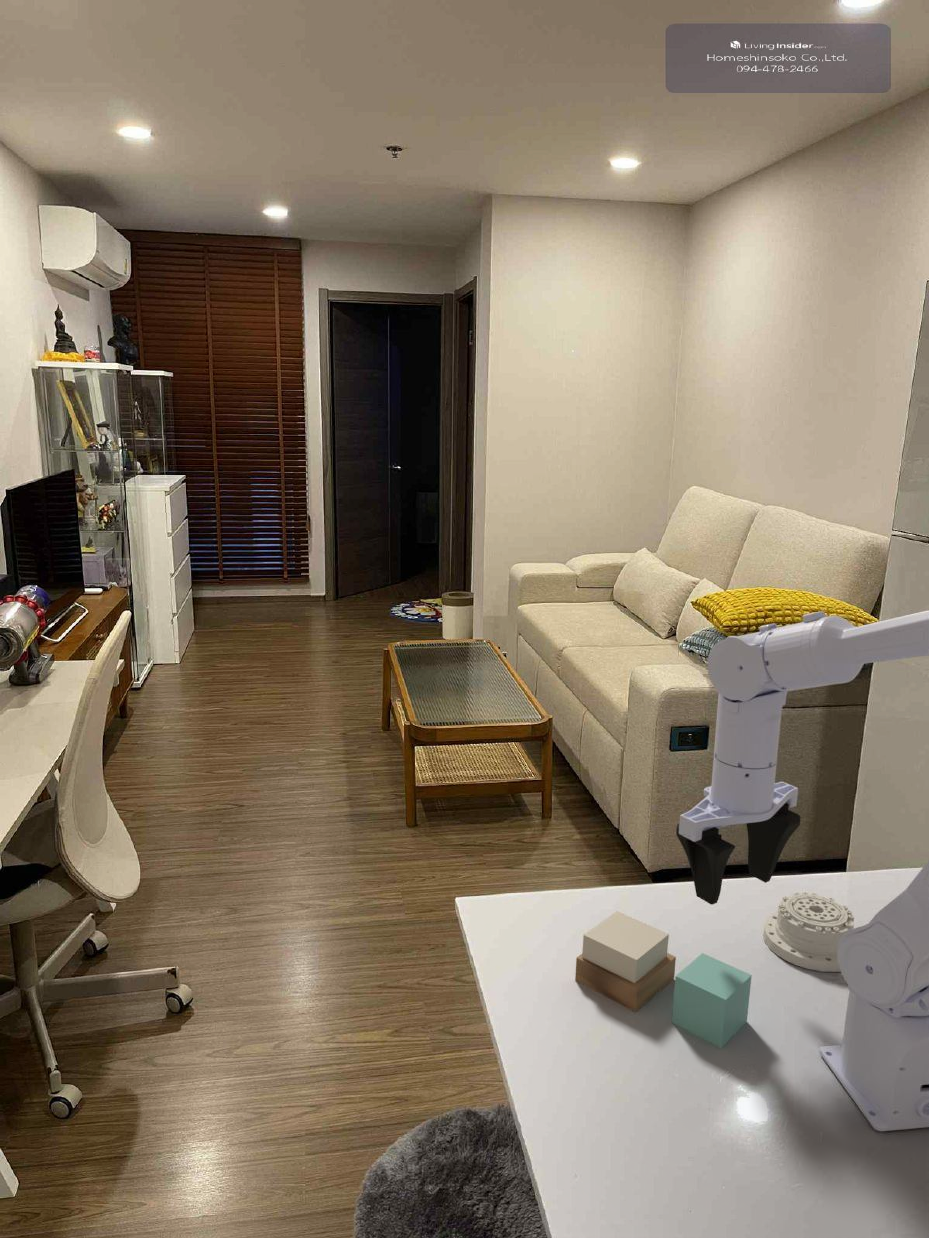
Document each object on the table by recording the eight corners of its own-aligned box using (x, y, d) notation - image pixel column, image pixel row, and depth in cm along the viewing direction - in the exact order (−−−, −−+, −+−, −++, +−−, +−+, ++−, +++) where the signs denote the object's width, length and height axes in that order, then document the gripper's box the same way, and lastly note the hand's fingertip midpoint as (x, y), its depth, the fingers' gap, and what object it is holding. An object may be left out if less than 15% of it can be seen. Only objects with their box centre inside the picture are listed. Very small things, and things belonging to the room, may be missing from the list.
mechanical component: (779, 973, 95) (878, 976, 95) (783, 934, 94) (883, 937, 93) (752, 919, 104) (841, 921, 104) (755, 883, 103) (846, 885, 103)
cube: (746, 1022, 87) (751, 974, 86) (721, 1048, 83) (725, 999, 82) (698, 998, 90) (702, 952, 89) (671, 1023, 87) (675, 975, 86)
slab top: (666, 956, 93) (668, 933, 92) (634, 983, 88) (636, 959, 88) (615, 932, 96) (616, 910, 96) (582, 957, 92) (583, 934, 91)
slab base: (673, 983, 93) (675, 956, 92) (635, 1016, 88) (637, 988, 87) (614, 954, 98) (616, 928, 97) (575, 984, 93) (576, 957, 92)
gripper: (761, 730, 95) (750, 852, 98) (659, 759, 87) (650, 890, 90) (821, 752, 89) (807, 881, 93) (717, 785, 82) (705, 924, 85)
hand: (733, 888), depth 91 cm, fingers open, 7 cm apart
